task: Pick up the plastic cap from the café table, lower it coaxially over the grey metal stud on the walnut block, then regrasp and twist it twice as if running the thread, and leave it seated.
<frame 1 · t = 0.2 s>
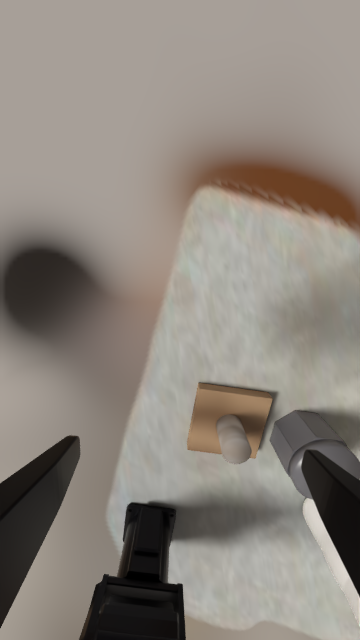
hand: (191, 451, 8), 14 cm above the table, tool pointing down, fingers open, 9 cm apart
stud block: (226, 417, 24), on the table
water bottle: (325, 501, 27), on the table
cap: (298, 434, 25), on the table
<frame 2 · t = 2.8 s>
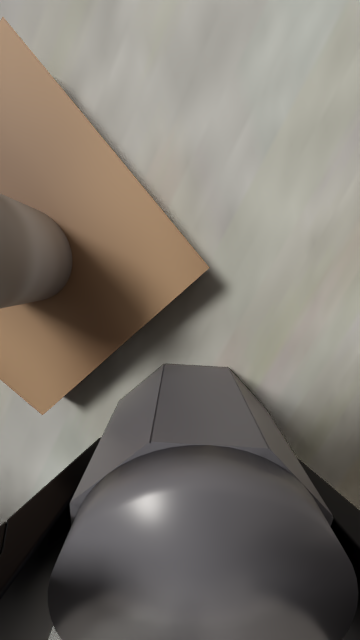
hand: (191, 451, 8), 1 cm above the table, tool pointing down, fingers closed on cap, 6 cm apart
stud block: (50, 258, 8), on the table
cap: (190, 431, 9), on the table, touching gripper
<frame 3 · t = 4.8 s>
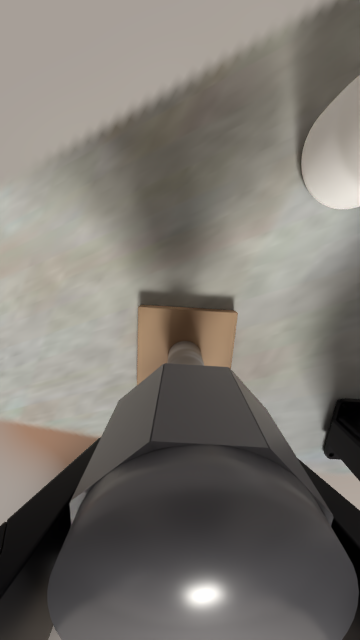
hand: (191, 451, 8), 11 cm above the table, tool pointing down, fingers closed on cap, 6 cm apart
stud block: (184, 351, 19), on the table
water bottle: (342, 161, 15), on the table
cap: (190, 431, 9), point 10 cm above the table, touching gripper
when the fingers open (3 cm above the table, at t = 6.9 s): cap drops 1 cm, resting on stud block.
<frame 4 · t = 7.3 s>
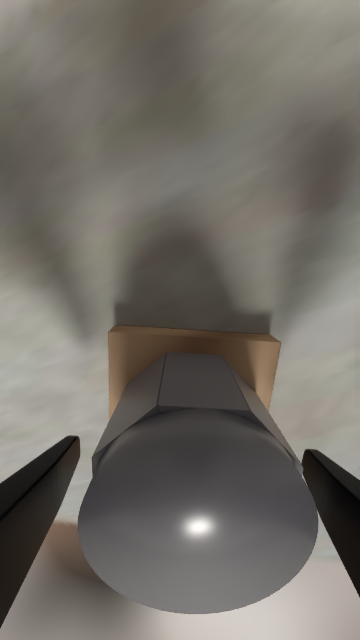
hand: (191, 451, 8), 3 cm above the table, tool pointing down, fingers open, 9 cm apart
stud block: (188, 398, 12), on the table
cap: (189, 412, 10), point 1 cm above the table, touching stud block
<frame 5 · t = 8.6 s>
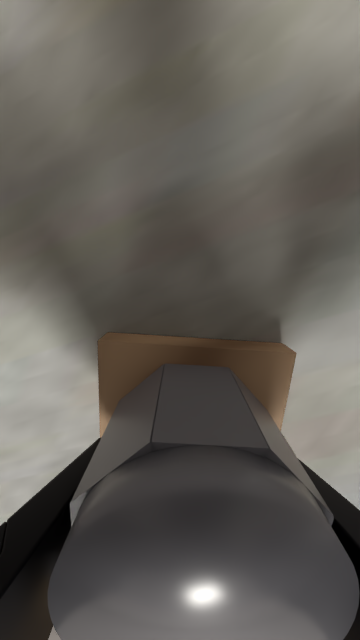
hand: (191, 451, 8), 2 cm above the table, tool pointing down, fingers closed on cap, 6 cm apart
stud block: (188, 413, 10), on the table
cap: (190, 431, 9), point 1 cm above the table, touching gripper, stud block
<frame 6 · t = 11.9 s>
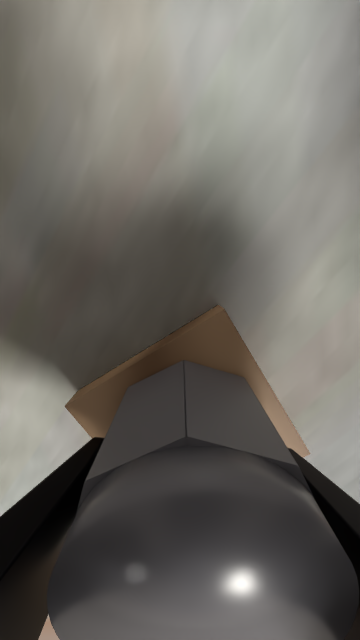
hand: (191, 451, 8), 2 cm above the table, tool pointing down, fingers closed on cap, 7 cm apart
stud block: (189, 412, 10), on the table
cap: (190, 432, 9), point 1 cm above the table, touching gripper
when the fingers open (2 cm above the table, at t = 12.5 s): cap stays where it is, resting on stud block.
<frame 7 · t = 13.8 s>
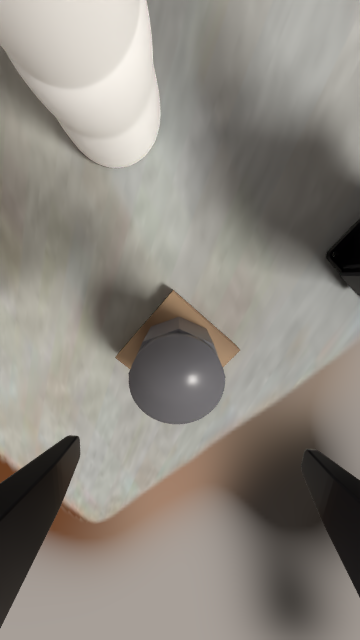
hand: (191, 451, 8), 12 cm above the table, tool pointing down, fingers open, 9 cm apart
stud block: (177, 349, 20), on the table
water bottle: (116, 121, 16), on the table
cap: (177, 353, 19), point 1 cm above the table, touching stud block
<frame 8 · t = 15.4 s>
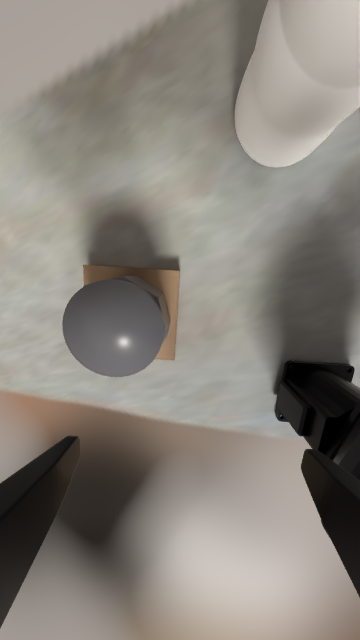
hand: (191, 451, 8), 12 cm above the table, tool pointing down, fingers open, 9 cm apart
stud block: (134, 312, 19), on the table
water bottle: (277, 121, 16), on the table
cap: (131, 315, 18), point 1 cm above the table, touching stud block
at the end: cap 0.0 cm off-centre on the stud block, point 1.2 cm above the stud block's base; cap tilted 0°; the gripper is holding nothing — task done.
